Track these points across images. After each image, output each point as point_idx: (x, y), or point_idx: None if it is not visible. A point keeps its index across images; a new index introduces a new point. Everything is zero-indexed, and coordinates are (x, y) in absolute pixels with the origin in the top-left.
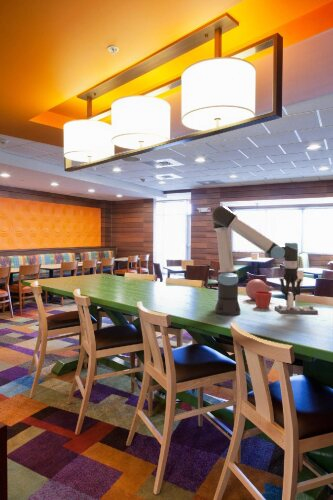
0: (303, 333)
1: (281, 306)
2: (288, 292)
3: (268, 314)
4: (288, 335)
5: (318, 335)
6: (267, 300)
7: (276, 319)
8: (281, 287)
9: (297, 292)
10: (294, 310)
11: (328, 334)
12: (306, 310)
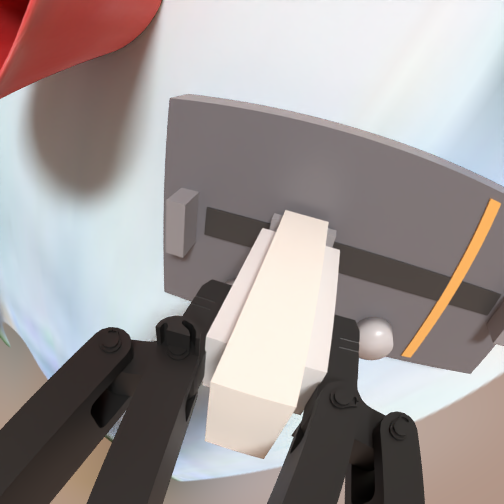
0: None
1: (181, 254)
2: (207, 414)
3: (93, 274)
4: None
5: (202, 468)
6: (60, 69)
7: None
8: (23, 419)
9: (357, 477)
10: None
11: (232, 475)
12: (398, 354)
